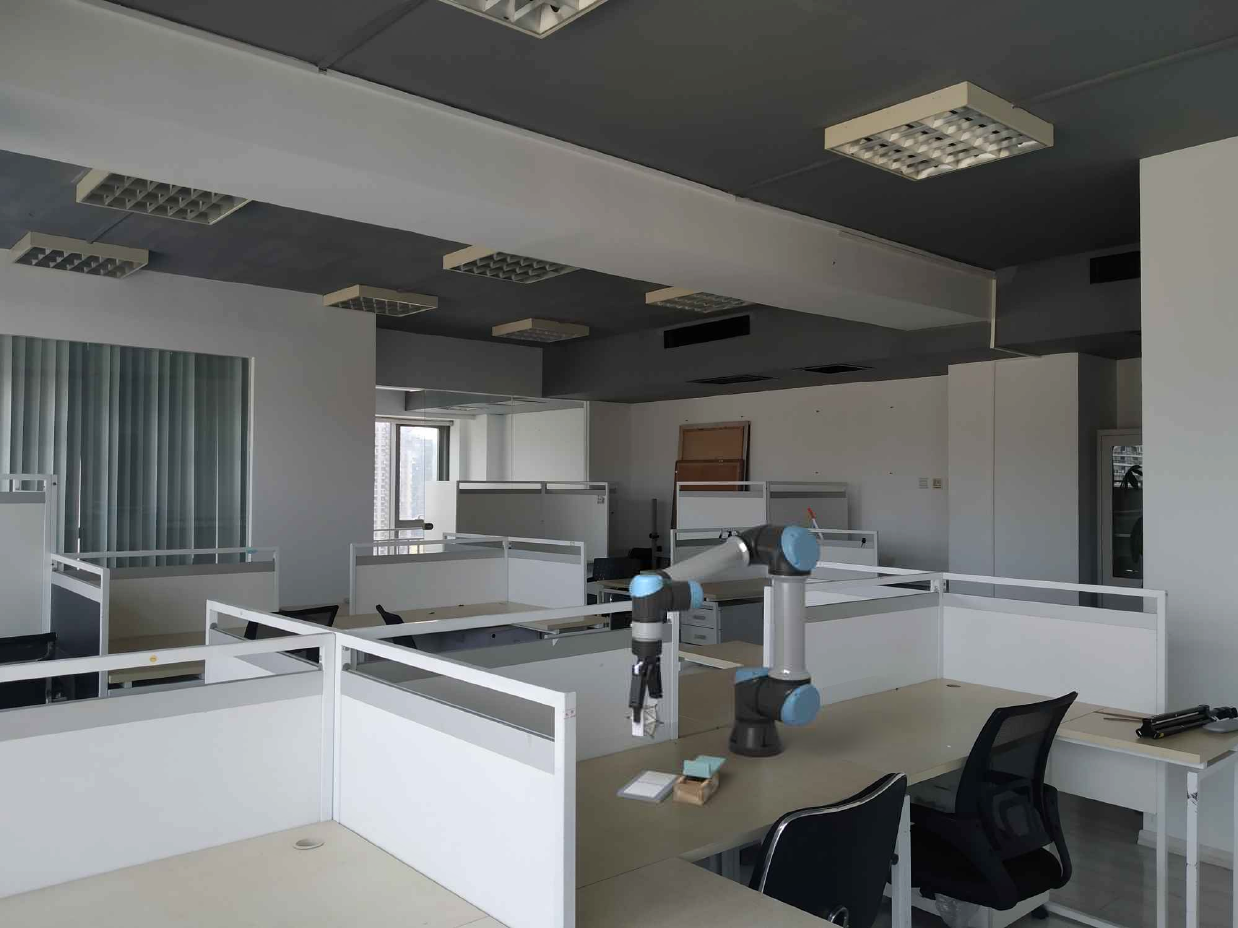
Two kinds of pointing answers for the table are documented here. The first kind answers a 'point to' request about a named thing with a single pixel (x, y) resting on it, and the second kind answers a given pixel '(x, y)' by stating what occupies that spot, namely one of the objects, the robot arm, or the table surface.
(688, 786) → the box
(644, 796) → the board
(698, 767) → the lid
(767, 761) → the table surface
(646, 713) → the game die
